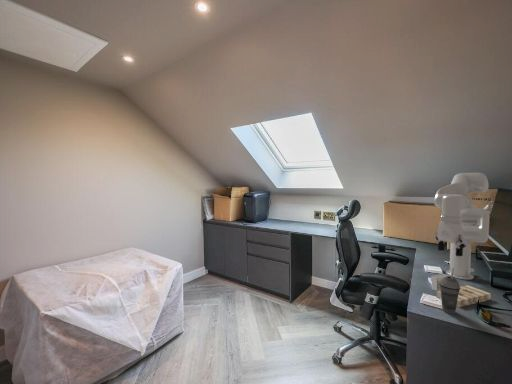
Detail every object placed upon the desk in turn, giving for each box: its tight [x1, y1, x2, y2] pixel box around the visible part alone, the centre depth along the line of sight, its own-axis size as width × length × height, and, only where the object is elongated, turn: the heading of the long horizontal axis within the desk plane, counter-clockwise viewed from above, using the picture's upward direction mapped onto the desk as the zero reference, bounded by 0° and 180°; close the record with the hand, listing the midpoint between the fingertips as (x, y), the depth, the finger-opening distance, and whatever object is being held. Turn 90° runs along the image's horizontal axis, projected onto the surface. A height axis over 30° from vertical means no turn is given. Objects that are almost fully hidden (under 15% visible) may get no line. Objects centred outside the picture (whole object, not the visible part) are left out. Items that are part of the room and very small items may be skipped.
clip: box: [430, 273, 449, 292], centre depth 128 cm, size 10×3×7 cm, turn 107°
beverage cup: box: [439, 268, 461, 315], centre depth 106 cm, size 7×7×20 cm
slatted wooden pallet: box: [436, 284, 492, 308], centre depth 118 cm, size 22×10×3 cm, turn 107°
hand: (449, 253), depth 122 cm, fingers open, 9 cm apart
